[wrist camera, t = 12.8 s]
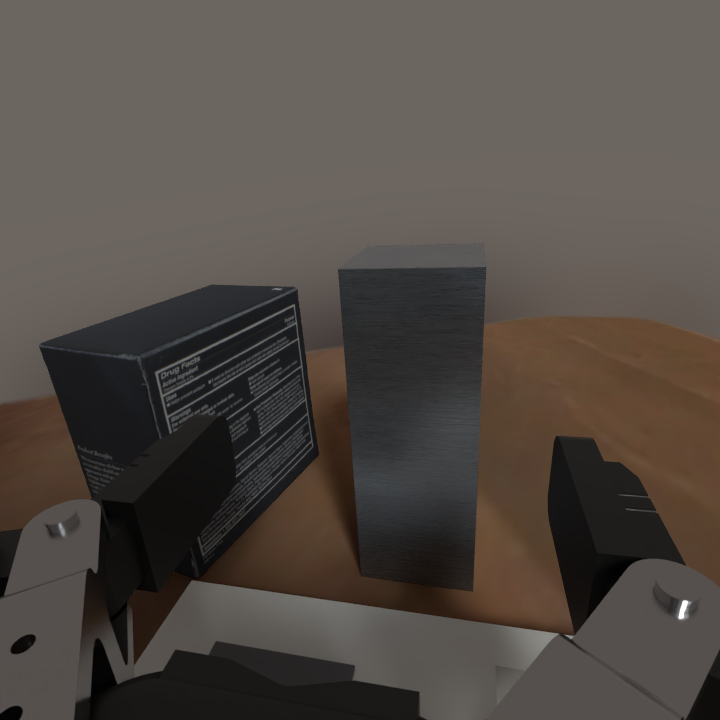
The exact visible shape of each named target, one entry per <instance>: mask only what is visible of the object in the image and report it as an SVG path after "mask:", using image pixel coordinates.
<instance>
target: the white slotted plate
mask: <svg viewBox="0 0 720 720" xmlns="http://www.w3.org/2000/svg"><path fill="white" fill-rule="evenodd" d="M557 635H558V634H557V633H550V632H543V631H536V630H529V629H522V628H515V627H509V626H502V625H495V624H488V623H481V622H474V621H467V620H461V619H454V618H447V617H440V616H433V615H426V614H419V613H413V612H406V611H399V610H392V609H385V608H378V607H371V606H365V605H358V604H351V603H344V602H337V601H330V600H323V599H317V598H310V597H303V596H296V595H289V594H282V593H275V592H269V591H262V590H255V589H248V588H241V587H234V586H227V585H221V584H214V583H207V582H200V581H193V580H192V581H191V582H190V584H189V585H188V587H187V588H186V590H185V591H184V593H183V594H182V595H181V597H180V598H179V600H178V601H177V603H176V604H175V606H174V607H173V609H172V610H171V612H170V613H169V615H168V616H167V618H166V619H165V621H164V622H163V624H162V625H161V627H160V628H159V630H158V631H157V632H156V634H155V635H154V637H153V638H152V640H151V641H150V643H149V644H148V646H147V647H146V649H145V650H144V652H143V653H142V655H141V656H140V658H139V659H138V661H137V662H136V664H135V665H134V678H135V677H138V676H141V675H145V674H149V673H154V672H158V671H163V669H164V668H165V666H166V664H167V663H168V661H169V659H170V658H171V656H172V654H173V653H174V651H175V649H176V650H182V651H188V652H194V653H199V654H205V655H211V656H217V657H222V658H228V659H232V660H234V661H236V662H237V663H239V664H241V665H243V666H245V667H247V668H249V669H251V670H253V671H255V672H257V673H259V674H261V675H263V676H265V677H267V678H269V679H270V680H272V681H274V682H276V683H278V684H281V685H284V686H298V685H309V684H320V683H331V682H342V681H353V680H355V681H361V682H366V683H372V684H378V685H384V686H390V687H395V688H401V689H407V690H413V691H418V692H420V716H421V717H423V718H425V719H427V720H486V718H487V717H488V716H489V715H490V714H491V712H492V711H493V710H494V709H495V707H496V706H497V705H498V704H499V703H500V701H501V700H502V699H503V698H504V696H505V695H506V694H507V693H508V692H509V690H510V689H511V688H512V687H513V686H514V684H515V683H516V682H517V681H518V679H519V678H520V677H521V676H522V675H523V673H524V672H525V671H526V670H527V668H528V667H529V666H530V665H531V664H532V662H533V661H534V660H535V659H536V658H537V656H538V655H539V654H540V653H541V651H542V650H543V649H544V648H545V647H546V645H547V644H548V643H549V642H550V641H551V640H552V639H553V638H554V637H555V636H557ZM565 636H567V637H568V638H570V639H572V638H573V637H574V636H570V635H565Z"/></svg>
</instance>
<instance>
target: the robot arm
mask: <svg viewBox="0 0 720 720" xmlns="http://www.w3.org/2000/svg"><path fill="white" fill-rule="evenodd" d="M235 480H236V463H235V457H234V452H233V446H232V440H231V435H230V429H229V424H228V421H227V419H226V418H225V417H224V416H217V415H200V414H196V415H193V416H192V417H190V418H189V419H188V420H187V421H186V422H185V423H184V424H183V425H182V426H181V427H180V428H179V429H177V430H176V431H175V432H173V433H171V434H169V435H167V436H165V437H163V438H161V439H160V440H158V441H156V442H154V443H153V444H152V445H151V446H150V447H149V448H148V449H147V450H145V451H144V452H143V453H142V455H141V457H140V456H139V457H138V458H136V459H135V460H134V461H133V462H132V463H131V464H130V467H126V468H125V469H124V470H123V471H122V472H121V473H120V474H119V475H117V476H116V477H115V478H114V479H113V480H112V481H111V482H110V483H108V484H107V485H106V486H105V487H104V488H103V489H102V490H101V491H99V492H98V493H97V494H96V495H95V496H94V497H93V498H92V499H90V500H89V499H77V500H71V501H67V502H63V503H60V504H57V505H55V506H53V507H50V508H48V509H46V510H45V511H43V512H41V513H40V514H38V515H37V516H35V517H34V518H33V519H32V520H31V521H29V523H28V524H27V525H26V526H25V527H24V529H18V530H10V531H3V532H0V720H427V719H425V718H423V717H421V716H420V692H418V691H413V690H407V689H401V688H395V687H390V686H384V685H378V684H372V683H366V682H361V681H355V680H353V681H342V682H331V683H320V684H309V685H298V686H284V685H281V684H278V683H276V682H274V681H272V680H270V679H269V678H267V677H265V676H263V675H261V674H259V673H257V672H255V671H253V670H251V669H249V668H247V667H245V666H243V665H241V664H239V663H237V662H236V661H234V660H232V659H228V658H222V657H217V656H211V655H205V654H199V653H194V652H188V651H182V650H176V649H175V651H174V653H173V654H172V656H171V658H170V659H169V661H168V663H167V664H166V666H165V668H164V669H163V671H158V672H154V673H149V674H145V675H141V676H138V677H135V678H134V651H133V618H132V605H131V602H130V599H129V598H130V596H131V595H132V594H133V592H134V591H135V590H136V589H137V590H144V591H151V592H157V593H158V592H159V591H160V590H161V588H162V587H163V585H164V584H165V583H166V581H167V580H168V578H169V577H170V576H171V574H172V573H173V572H174V570H175V569H176V567H177V566H178V565H179V563H180V562H181V560H182V559H183V558H184V556H185V555H186V553H187V552H188V551H189V549H190V548H191V547H192V545H193V544H194V542H195V541H196V540H197V538H198V537H199V535H200V534H201V533H202V531H203V530H204V528H205V527H206V526H207V524H208V523H209V522H210V520H211V519H212V517H213V516H214V515H215V513H216V512H217V510H218V509H219V508H220V506H221V505H222V504H223V502H224V501H225V499H226V498H227V497H228V495H229V494H230V492H231V491H232V489H233V487H234V484H235ZM548 516H549V523H550V527H551V532H552V536H553V541H554V545H555V549H556V554H557V558H558V563H559V567H560V571H561V576H562V580H563V585H564V589H565V594H566V598H567V602H568V607H569V611H570V616H571V620H572V625H573V629H574V633H575V636H574V637H573V638H572V639H570V638H568V637H567V636H565V635H564V634H558V635H557V636H555V637H554V638H553V639H552V640H551V641H550V642H549V643H548V644H547V645H546V647H545V648H544V649H543V650H542V651H541V653H540V654H539V655H538V656H537V658H536V659H535V660H534V661H533V662H532V664H531V665H530V666H529V667H528V668H527V670H526V671H525V672H524V673H523V675H522V676H521V677H520V678H519V679H518V681H517V682H516V683H515V684H514V686H513V687H512V688H511V689H510V690H509V692H508V693H507V694H506V695H505V696H504V698H503V699H502V700H501V701H500V703H499V704H498V705H497V706H496V707H495V709H494V710H493V711H492V712H491V714H490V715H489V716H488V717H487V718H486V720H720V588H719V587H718V586H717V585H716V584H714V583H713V582H712V581H711V580H710V579H708V578H707V577H705V576H704V575H702V574H701V573H699V572H697V571H695V570H693V569H691V568H689V567H687V566H686V564H685V563H684V561H683V559H682V557H681V555H680V553H679V552H678V550H677V548H676V546H675V544H674V542H673V540H672V539H671V537H670V535H669V533H668V531H667V529H666V527H665V526H664V524H663V522H662V520H661V518H660V516H659V515H658V513H656V509H655V507H654V505H653V503H652V502H651V500H650V499H648V494H647V492H646V491H645V489H644V487H643V485H642V483H641V481H640V479H639V478H638V477H637V476H636V475H635V474H633V473H632V472H631V471H630V470H629V469H627V468H626V467H625V466H624V465H622V464H621V463H620V462H606V461H604V460H603V458H602V456H601V454H600V451H599V449H598V447H597V445H596V443H595V441H594V439H593V438H585V437H567V436H556V438H555V441H554V447H553V455H552V464H551V473H550V482H549V491H548Z"/></svg>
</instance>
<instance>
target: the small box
mask: <svg viewBox="0 0 720 720" xmlns="http://www.w3.org/2000/svg"><path fill="white" fill-rule="evenodd" d="M303 340H304V339H303V332H302V325H301V316H300V308H299V301H298V289H297V288H296V287H274V286H272V287H271V286H233V285H210V286H207V287H204V288H201V289H198V290H195V291H192V292H190V293H186V294H183V295H181V296H178V297H175V298H172V299H169V300H166V301H163V302H160V303H157V304H154V305H151V306H148V307H145V308H142V309H139V310H136V311H134V312H131V313H128V314H125V315H122V316H119V317H116V318H113V319H110V320H107V321H104V322H101V323H98V324H95V325H93V326H89V327H87V328H84V329H81V330H78V331H75V332H72V333H69V334H66V335H63V336H60V337H57V338H54V339H52V340H49V341H46V342H43V343H41V344H40V346H39V347H40V350H41V352H42V355H43V359H44V361H45V363H46V365H47V368H48V371H49V374H50V377H51V380H52V383H53V386H54V389H55V392H56V394H57V397H58V400H59V403H60V406H61V409H62V412H63V415H64V417H65V420H66V423H67V426H68V429H69V432H70V435H71V438H72V441H73V444H74V446H75V449H76V452H77V455H78V458H79V461H80V464H81V467H82V470H83V473H84V476H85V479H86V482H87V485H88V488H89V490H90V493H91V497H92V498H93V497H94V496H95V495H96V494H97V493H98V492H99V491H101V490H102V489H103V488H104V487H105V486H106V485H107V484H108V483H110V482H111V481H112V480H113V479H114V478H115V477H116V476H117V475H119V474H120V473H121V472H122V471H123V470H124V469H125V468H126V467H130V464H131V463H132V462H133V461H134V460H135V459H136V458H138V457H139V456H140V457H141V455H142V453H143V452H144V451H145V450H147V449H148V448H149V447H150V446H151V445H152V444H153V443H154V442H156V441H158V440H160V439H161V438H163V437H165V436H167V435H169V434H171V433H173V432H175V431H176V430H177V429H179V428H180V427H181V426H182V425H183V424H184V423H185V422H186V421H187V420H188V419H189V418H190V417H192V416H193V415H196V414H200V415H217V416H224V417H225V418H226V419H227V421H228V424H229V429H230V435H231V440H232V446H233V452H234V457H235V463H236V480H235V484H234V487H233V489H232V491H231V492H230V494H229V495H228V497H227V498H226V499H225V501H224V502H223V504H222V505H221V506H220V508H219V509H218V510H217V512H216V513H215V515H214V516H213V517H212V519H211V520H210V522H209V523H208V524H207V526H206V527H205V528H204V530H203V531H202V533H201V534H200V535H199V537H198V538H197V540H196V541H195V542H194V544H193V545H192V547H191V548H190V549H189V551H188V552H187V553H186V555H185V556H184V558H183V559H182V560H181V562H180V563H179V565H178V566H177V567H176V569H175V571H177V572H180V573H182V574H185V575H187V576H189V577H193V578H198V577H200V576H201V575H202V574H203V573H204V572H205V571H206V570H207V569H208V568H209V567H210V566H211V565H212V564H213V563H214V562H215V561H216V560H217V559H218V558H219V557H220V556H221V555H222V554H223V553H224V552H225V551H226V550H227V549H228V548H229V547H230V546H231V545H232V544H233V543H234V541H235V540H237V539H238V537H239V536H240V535H241V534H242V533H243V532H244V531H245V530H246V529H247V528H248V527H249V526H250V525H251V524H252V523H253V522H254V521H255V520H256V519H257V518H258V517H259V516H260V515H261V514H262V513H263V512H264V511H265V510H266V509H267V507H268V506H269V505H270V504H271V503H272V502H273V501H274V500H275V499H276V498H277V497H278V496H279V495H280V494H281V493H282V492H283V491H284V490H285V489H286V488H287V487H288V486H289V485H290V484H291V483H292V482H293V480H294V479H295V478H296V477H297V476H298V475H299V474H300V473H301V472H302V471H303V470H304V469H305V468H306V467H307V466H308V465H309V464H310V463H311V462H312V461H313V460H314V459H315V458H316V457H317V456H318V455H319V451H318V445H317V439H316V432H315V427H314V419H313V413H312V404H311V399H310V388H309V381H308V374H307V364H306V355H305V349H304V341H303Z"/></svg>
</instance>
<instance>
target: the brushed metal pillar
mask: <svg viewBox="0 0 720 720" xmlns="http://www.w3.org/2000/svg"><path fill="white" fill-rule="evenodd" d="M338 274H339V287H340V300H341V314H342V327H343V341H344V354H345V367H346V381H347V394H348V407H349V421H350V434H351V447H352V461H353V474H354V487H355V501H356V514H357V528H358V541H359V554H360V568H361V576H364V577H371V578H378V579H386V580H393V581H400V582H408V583H415V584H422V585H430V586H437V587H445V588H452V589H459V590H467V591H473V579H474V554H475V530H476V505H477V480H478V455H479V430H480V406H481V381H482V356H483V331H484V305H485V304H484V303H485V280H486V260H485V249H484V244H445V245H443V244H442V245H406V246H405V245H402V246H368V247H366V248H365V249H364V250H362V251H361V252H360V253H358V254H357V255H356V256H355V257H353V258H352V259H351V260H349V261H348V262H347V263H346V264H344V265H343V266H342V267H340V268H339V269H338Z"/></svg>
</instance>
